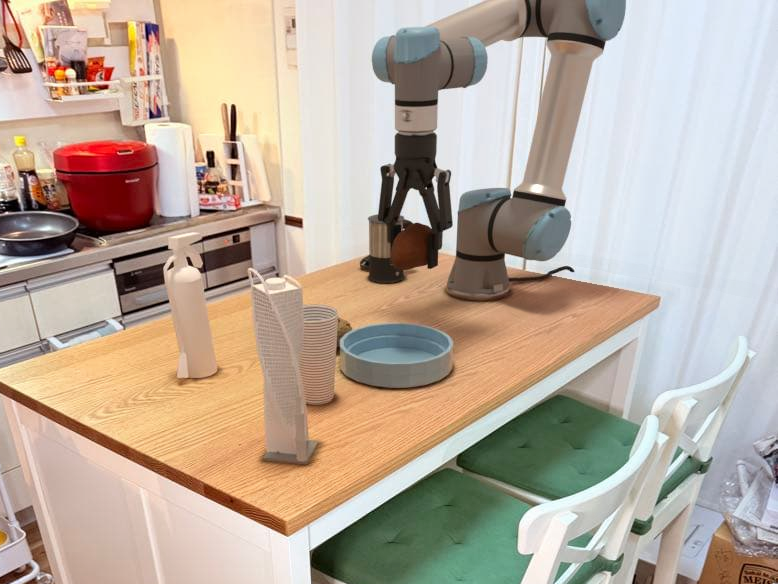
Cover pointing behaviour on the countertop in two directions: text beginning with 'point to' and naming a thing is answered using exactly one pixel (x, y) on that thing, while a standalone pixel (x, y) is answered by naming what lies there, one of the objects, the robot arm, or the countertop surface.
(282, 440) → the skyscraper
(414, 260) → the potato
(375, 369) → the bowl
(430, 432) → the countertop surface
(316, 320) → the cup
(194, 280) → the fire extinguisher
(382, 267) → the milk frother
